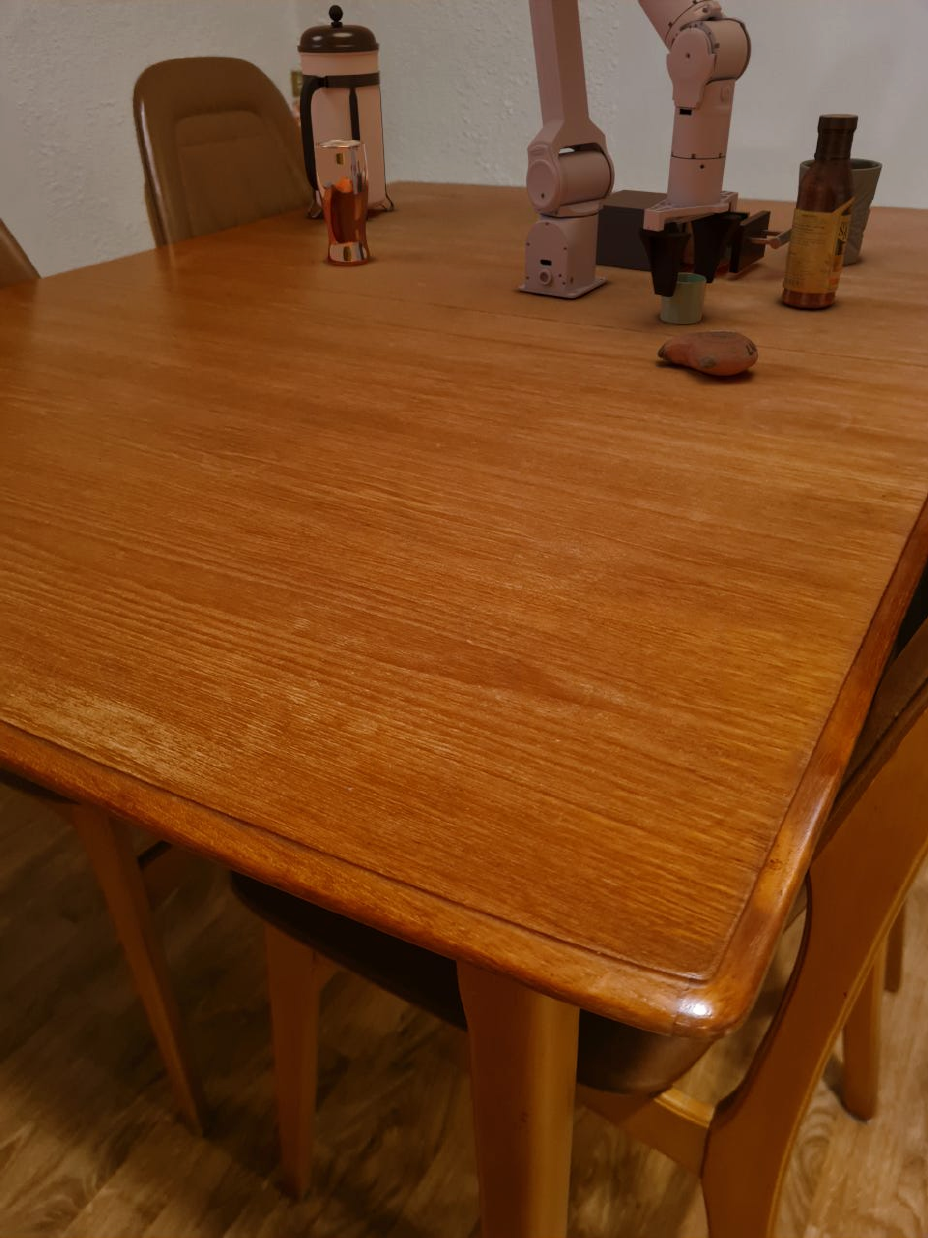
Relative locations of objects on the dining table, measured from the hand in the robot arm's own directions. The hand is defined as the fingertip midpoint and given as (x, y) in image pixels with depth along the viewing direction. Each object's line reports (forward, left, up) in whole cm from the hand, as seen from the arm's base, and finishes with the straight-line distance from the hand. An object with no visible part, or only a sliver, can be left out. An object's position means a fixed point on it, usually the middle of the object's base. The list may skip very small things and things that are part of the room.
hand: (683, 288), depth 107 cm
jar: (0, 0, -3) cm, 3 cm away
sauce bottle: (+13, -10, -3) cm, 17 cm away
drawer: (+24, +4, -2) cm, 25 cm away
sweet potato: (-15, -9, -3) cm, 18 cm away
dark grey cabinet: (+24, +15, -3) cm, 28 cm away
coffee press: (+28, +71, -3) cm, 76 cm away
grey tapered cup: (+36, -6, -3) cm, 37 cm away
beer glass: (+3, +51, -3) cm, 51 cm away
